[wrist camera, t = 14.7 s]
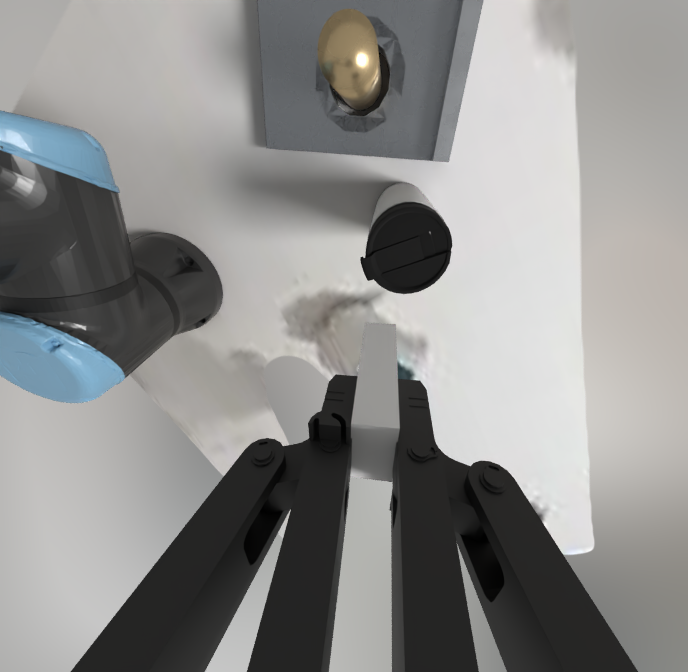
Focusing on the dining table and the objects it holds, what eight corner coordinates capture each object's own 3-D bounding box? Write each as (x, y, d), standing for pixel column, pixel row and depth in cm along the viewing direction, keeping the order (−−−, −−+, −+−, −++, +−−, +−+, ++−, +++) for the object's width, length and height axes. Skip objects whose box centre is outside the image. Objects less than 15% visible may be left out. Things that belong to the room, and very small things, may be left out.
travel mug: (366, 195, 37) (347, 229, 20) (419, 173, 35) (445, 192, 19) (381, 243, 40) (375, 308, 23) (431, 225, 38) (463, 283, 21)
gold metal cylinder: (339, 108, 33) (317, 88, 23) (341, 55, 31) (317, 7, 21) (378, 111, 33) (373, 92, 23) (384, 57, 31) (381, 9, 20)
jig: (273, 148, 36) (260, 147, 32) (265, -9, 29) (247, -33, 25) (442, 161, 34) (448, 162, 31) (475, -2, 28) (488, -27, 24)
